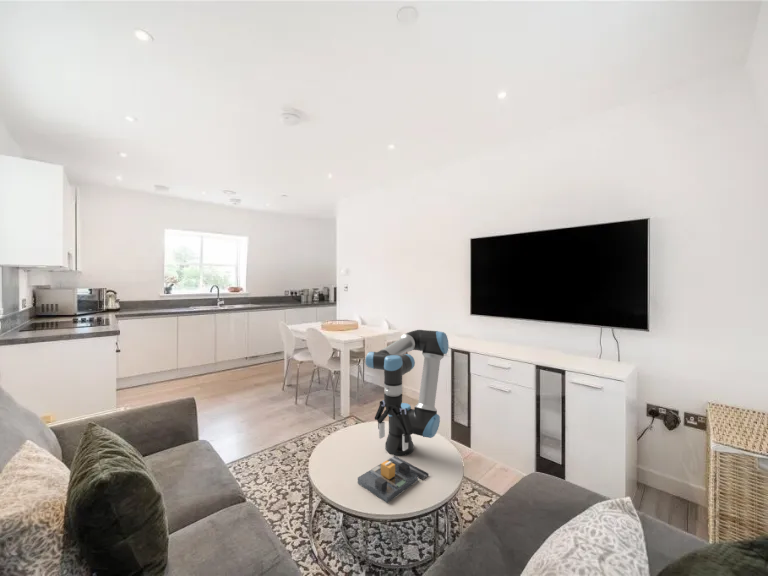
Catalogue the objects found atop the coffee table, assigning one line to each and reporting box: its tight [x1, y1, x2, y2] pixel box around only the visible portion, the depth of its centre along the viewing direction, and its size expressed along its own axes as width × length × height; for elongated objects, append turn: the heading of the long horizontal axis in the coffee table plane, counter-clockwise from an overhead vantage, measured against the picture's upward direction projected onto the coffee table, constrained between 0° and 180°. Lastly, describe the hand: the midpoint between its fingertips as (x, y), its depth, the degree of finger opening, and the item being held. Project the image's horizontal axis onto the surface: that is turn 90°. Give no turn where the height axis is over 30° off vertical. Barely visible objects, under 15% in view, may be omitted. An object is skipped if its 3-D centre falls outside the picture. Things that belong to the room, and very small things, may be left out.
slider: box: [380, 459, 395, 479], centre depth 141 cm, size 4×5×6 cm
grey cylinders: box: [389, 455, 429, 480], centre depth 151 cm, size 5×21×1 cm, turn 46°
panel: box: [357, 458, 419, 504], centre depth 141 cm, size 20×18×6 cm
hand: (393, 443), depth 133 cm, fingers open, 13 cm apart
